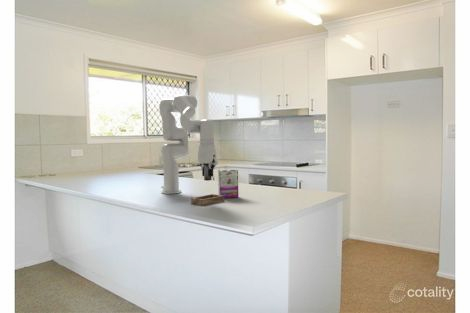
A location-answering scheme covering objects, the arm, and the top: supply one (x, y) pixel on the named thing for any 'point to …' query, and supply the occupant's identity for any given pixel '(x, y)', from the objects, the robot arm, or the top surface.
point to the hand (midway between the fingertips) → (207, 175)
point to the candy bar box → (228, 183)
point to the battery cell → (206, 172)
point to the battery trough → (207, 199)
